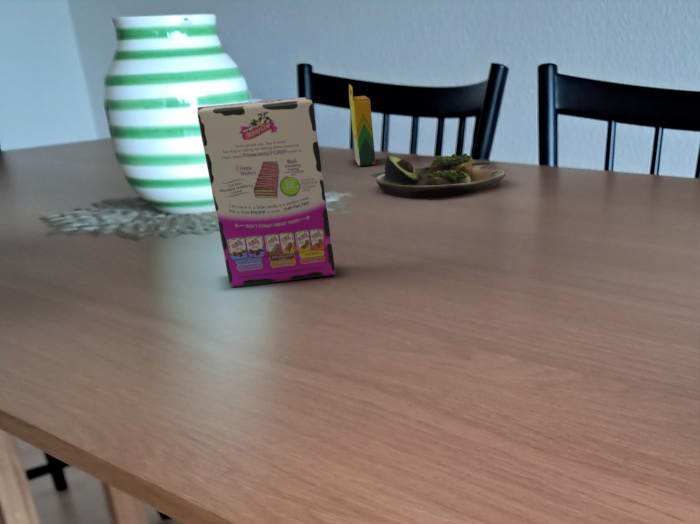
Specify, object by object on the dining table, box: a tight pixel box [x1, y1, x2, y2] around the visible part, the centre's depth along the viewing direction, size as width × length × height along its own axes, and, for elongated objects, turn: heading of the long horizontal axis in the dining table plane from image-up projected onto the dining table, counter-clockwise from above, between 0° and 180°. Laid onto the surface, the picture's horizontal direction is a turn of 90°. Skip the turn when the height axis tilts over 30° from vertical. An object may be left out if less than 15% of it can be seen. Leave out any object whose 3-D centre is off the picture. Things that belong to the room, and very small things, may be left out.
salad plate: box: [369, 152, 506, 200], centre depth 147 cm, size 19×18×5 cm
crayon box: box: [348, 83, 376, 167], centre depth 167 cm, size 7×3×12 cm, turn 11°
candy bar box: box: [196, 96, 336, 288], centre depth 102 cm, size 11×5×16 cm, turn 105°
